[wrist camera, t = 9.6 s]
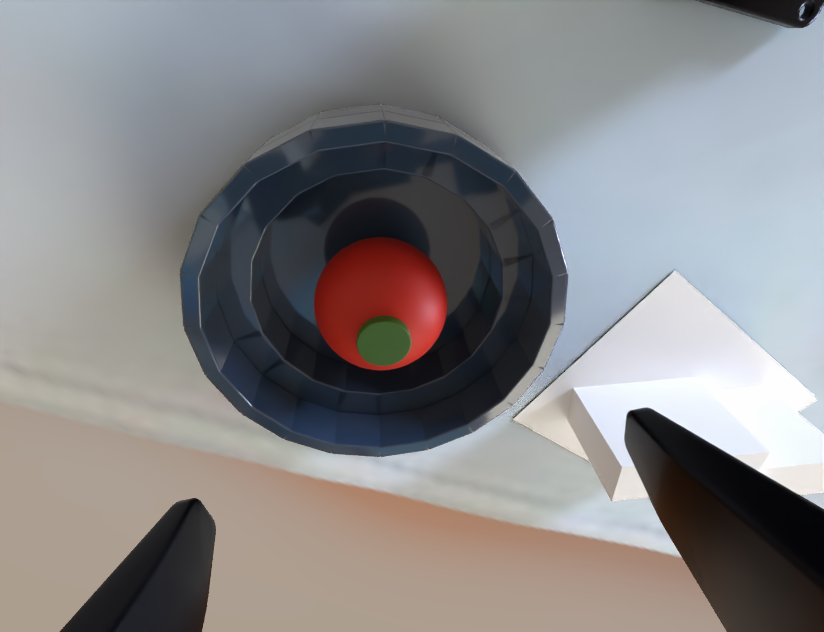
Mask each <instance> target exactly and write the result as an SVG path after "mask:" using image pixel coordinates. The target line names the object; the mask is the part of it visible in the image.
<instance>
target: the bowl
mask: <svg viewBox="0 0 824 632" xmlns="http://www.w3.org/2000/svg"><path fill="white" fill-rule="evenodd" d="M372 237H389V238H394V239H399V240H401V241H404V242H407V243H409V244H411V245H413V246H415V247H417V248H418V249H419V250H421V251H422V252H423V253H424V254H425V255H427V256H428V257H429V258H430V259H431V261H432V262H433V263H434V264H435V266H436V267H437V269H438V271H439V272H440V274H441V277H442V279H443V281H444V284H445V288H446V293H447V315H446V319H445V323H444V326H443V328H442V331H441V333H440V335H439V337H438V339H437V340H436V341H435V343H434V344H433V346H432V347H431V348H430V349H429V350H428V351H427V352H426V353H425V354H424V355H423V356H421V357H420V358H418V359H417V360H415V361H414V362H412V363H410V364H408V365H406V366H403V367H400V368H396V369H391V370H371V369H365V368H362V367H359V366H356V365H354V364H352V363H350V362H348V361H346V360H344V359H343V358H341V357H340V356H339V355H338V354H337V353H335V352H334V351H333V350H332V349H331V347H330V346H329V345H328V344H327V343H326V341H325V340H324V338H323V336H322V334H321V332H320V330H319V328H318V325H317V322H316V318H315V312H314V294H315V289H316V285H317V282H318V279H319V277H320V275H321V273H322V271H323V269H324V267H325V266H326V265H327V263H328V262H329V261H330V259H331V258H332V257H333V256H334V255H335V254H336V253H338V252H339V251H340V250H342V249H343V248H345V247H346V246H348V245H350V244H352V243H354V242H357V241H359V240H363V239H366V238H372ZM180 282H181V298H182V314H183V326H184V330H185V332H186V334H187V337H188V339H189V341H190V343H191V345H192V347H193V350H194V352H195V354H196V356H197V358H198V361H199V363H200V365H201V367H202V369H203V371H204V374H205V375H206V377H207V378H208V379H209V380H210V381H211V382H212V383H213V384H214V385H215V387H216V388H217V389H218V390H219V391H220V392H221V393H222V394H223V395H224V396H225V397H226V398H227V399H228V400H229V401H230V403H231V404H232V405H233V406H234V407H235V408H236V409H237V410H238V411H239V412H240V413H241V414H243V415H244V416H246V417H248V418H249V419H251V420H253V421H254V422H256V423H258V424H259V425H261V426H263V427H264V428H266V429H268V430H269V431H271V432H273V433H274V434H276V435H278V436H279V437H281V438H283V439H285V440H288V441H291V442H295V443H298V444H301V445H305V446H308V447H311V448H315V449H318V450H321V451H324V452H328V453H333V454H345V455H359V456H374V457H380V456H381V457H384V456H391V455H397V454H404V453H411V452H417V451H424V450H428V449H432V448H434V447H437V446H439V445H442V444H445V443H447V442H450V441H452V440H455V439H457V438H460V437H463V436H465V435H468V434H470V433H472V432H474V431H476V430H478V429H479V428H480V427H482V426H483V425H485V424H486V423H488V422H489V421H491V420H492V419H494V418H495V417H496V416H498V415H499V414H501V413H502V412H504V411H505V410H507V409H508V408H510V407H511V406H512V405H513V404H515V402H516V401H517V400H518V399H519V398H520V397H521V395H522V394H523V393H524V392H525V391H526V390H527V388H528V387H529V386H530V385H531V384H532V383H533V381H534V380H535V379H536V378H537V377H538V376H539V375H540V373H541V372H542V371H543V370H544V368H545V366H546V364H547V362H548V359H549V357H550V355H551V353H552V350H553V348H554V346H555V344H556V341H557V339H558V337H559V334H560V332H561V330H562V328H563V325H564V321H565V309H566V297H567V285H568V268H567V265H566V261H565V258H564V254H563V251H562V247H561V244H560V241H559V237H558V234H557V230H556V227H555V223H554V221H553V220H552V217H551V215H550V214H549V213H548V211H547V210H546V209H545V207H544V206H543V205H542V204H541V202H540V201H539V200H538V198H537V197H536V196H535V194H534V193H533V192H532V190H531V189H530V188H529V187H528V185H527V184H526V183H525V181H524V180H523V179H522V177H521V176H520V175H519V174H518V172H517V171H515V170H514V169H513V168H512V167H511V166H510V165H508V164H507V163H506V162H505V161H504V160H502V159H501V158H500V157H499V156H498V155H496V154H495V153H494V152H493V151H491V150H490V149H489V148H488V147H487V146H485V145H484V144H482V143H481V142H479V141H478V140H476V139H474V138H473V137H471V136H470V135H468V134H466V133H465V132H463V131H462V130H460V129H458V128H457V127H455V126H454V125H452V124H450V123H449V122H447V121H446V120H444V119H442V118H441V117H437V116H436V115H431V114H426V113H422V112H417V111H412V110H408V109H403V108H399V107H394V106H389V105H385V104H382V105H380V104H373V105H366V106H358V107H351V108H343V109H336V110H328V111H322V112H321V113H317V114H315V115H313V116H311V117H309V118H308V119H306V120H304V121H302V122H300V123H298V124H296V125H294V126H292V127H290V128H289V129H287V130H285V131H283V132H281V133H279V134H277V135H275V136H273V137H271V138H270V139H269V140H267V141H266V142H265V143H264V144H263V145H262V146H261V147H260V148H259V149H258V150H257V151H256V152H255V153H254V154H253V155H252V156H251V157H250V158H249V159H248V160H247V161H246V162H245V163H244V164H243V165H242V166H241V167H240V168H239V170H238V171H237V172H236V173H235V174H234V175H233V176H232V178H231V179H230V180H229V181H228V182H227V183H226V184H225V186H224V187H223V188H222V189H221V190H220V191H219V192H218V193H217V195H216V196H215V197H214V198H213V199H212V200H211V201H210V203H209V204H208V205H207V206H206V207H205V208H204V209H203V211H202V212H201V214H200V215H199V217H198V219H197V222H196V225H195V228H194V231H193V234H192V237H191V240H190V243H189V246H188V249H187V252H186V254H185V257H184V260H183V263H182V266H181V269H180Z"/></svg>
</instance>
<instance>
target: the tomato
mask: <svg viewBox="0 0 824 632" xmlns="http://www.w3.org/2000/svg"><path fill="white" fill-rule="evenodd" d="M314 312H315V318H316V322H317V325H318V328H319V330H320V332H321V334H322V336H323V338H324V340H325V341H326V343H327V344H328V345H329V346H330V347H331V349H332V350H333V351H334V352H335V353H337V354H338V355H339V356H340V357H341V358H343V359H344V360H346V361H348V362H350V363H352V364H354V365H356V366H359V367H362V368H365V369H371V370H391V369H396V368H400V367H403V366H406V365H408V364H410V363H412V362H414V361H415V360H417V359H418V358H420V357H421V356H423V355H424V354H425V353H426V352H427V351H428V350H429V349H430V348H431V347H432V346H433V344H434V343H435V341H436V340H437V339H438V337H439V335H440V333H441V331H442V328H443V326H444V323H445V319H446V315H447V293H446V288H445V284H444V281H443V279H442V277H441V274H440V272H439V271H438V269H437V267H436V266H435V264H434V263H433V262H432V261H431V259H430V258H429V257H428V256H427V255H425V254H424V253H423V252H422V251H421V250H419V249H418V248H417V247H415V246H413V245H411V244H409V243H407V242H404V241H401V240H399V239H394V238H389V237H372V238H366V239H363V240H359V241H357V242H354V243H352V244H350V245H348V246H346V247H345V248H343V249H342V250H340V251H339V252H338V253H336V254H335V255H334V256H333V257H332V258H331V259H330V261H329V262H328V263H327V265H326V266H325V267H324V269H323V271H322V273H321V275H320V277H319V279H318V282H317V285H316V289H315V294H314Z"/></svg>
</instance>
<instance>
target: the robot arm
mask: <svg viewBox="0 0 824 632" xmlns="http://www.w3.org/2000/svg"><path fill="white" fill-rule="evenodd" d="M696 1H699V2H702V3H706V4H709V5H713V6H716V7H719V8H723V9H726V10H729V11H733V12H736V13H740V14H743V15H746V16H750V17H753V18H756V19H760V20H763V21H766V22H770V23H773V24H777V25H780V26H783V27H787V28H803V27H806V26H808V25H809V24H811V23H812V22H813V21H814V20H815V19H816V17H817V16H818V14H819V13H820V11H821V9H822V7H823V5H824V0H696ZM803 5H804V6H805V9H804V12H803V14H802V15H801V17H799V12H800V9H801V8H802V6H803ZM624 441H625V446H626V449H627V451H628V453H629V455H630V457H631V460H632V462H633V464H634V466H635V468H636V470H637V472H638V475H639V477H640V479H641V481H642V483H643V485H644V487H645V490H646V492H647V494H648V496H649V498H650V500H651V502H652V504H653V507H654V509H655V511H656V513H657V515H658V517H659V519H660V521H661V522H662V524H663V526H664V528H665V529H666V531H667V533H668V535H669V536H670V538H671V540H672V541H673V543H674V545H675V546H676V548H677V550H678V551H679V553H680V555H681V556H682V558H683V560H684V561H685V563H686V564H687V566H688V567H689V569H690V571H691V573H692V574H693V576H694V578H695V579H696V581H697V583H698V584H699V586H700V588H701V589H702V591H703V593H704V594H705V596H706V598H707V599H708V601H709V603H710V604H711V606H712V607H713V609H714V611H715V613H716V614H717V616H718V618H719V619H720V621H721V623H722V624H723V626H724V628H725V629H726V631H727V632H824V509H822V508H821V507H819V506H817V505H816V504H814V503H812V502H810V501H809V500H807V499H805V498H804V497H802V496H800V495H799V494H797V493H795V492H793V491H792V490H790V489H788V488H787V487H785V486H783V485H781V484H780V483H778V482H776V481H775V480H773V479H771V478H769V477H768V476H766V475H764V474H763V473H761V472H759V471H757V470H756V469H754V468H752V467H751V466H749V465H747V464H746V463H744V462H742V461H740V460H739V459H737V458H735V457H734V456H732V455H730V454H728V453H727V452H725V451H723V450H722V449H720V448H718V447H716V446H715V445H713V444H711V443H710V442H708V441H706V440H705V439H703V438H701V437H699V436H698V435H696V434H694V433H693V432H691V431H689V430H687V429H686V428H684V427H682V426H681V425H679V424H677V423H675V422H674V421H672V420H670V419H669V418H667V417H665V416H664V415H662V414H660V413H658V412H657V411H655V410H653V409H651V408H648V407H645V408H639V409H634V410H630V411H629V412H628V413H627V416H626V424H625V434H624ZM215 534H216V526H215V522H214V520H213V518H212V517H211V515H210V514H209V512H208V511H207V510H206V508H205V507H204V505H203V504H202V502H201V501H200V500H198V499H196V498H192V499H187V500H182V501H179V502H176V503H175V504H174V505H173V506H172V507H171V508H170V509H169V510H168V511H167V512H166V513H165V515H164V516H163V517H162V518H161V519H160V520H159V521H158V522H157V523H156V525H155V526H154V527H153V528H152V529H151V530H150V532H148V534H147V535H146V536H145V537H144V538H143V539H142V540H141V542H139V544H138V545H137V546H136V547H135V548H134V549H133V550H132V551H131V553H130V554H129V555H128V556H127V557H126V558H125V559H124V561H123V562H122V563H121V564H120V565H119V566H118V567H117V568H116V569H115V570H114V572H113V573H112V574H111V575H110V576H109V577H108V578H107V580H106V581H105V582H104V583H103V584H102V585H101V586H100V587H99V588H98V589H97V591H96V592H95V593H94V594H93V595H92V596H91V597H90V599H88V601H87V602H86V603H85V604H84V605H83V606H82V607H81V608H80V610H79V611H78V612H77V613H76V614H75V615H74V616H73V617H72V619H71V620H70V621H69V622H68V623H67V624H66V625H65V627H63V629H62V630H61V631H60V632H202V628H203V623H204V618H205V613H206V607H207V601H208V594H209V585H210V577H211V568H212V560H213V551H214V542H215Z"/></svg>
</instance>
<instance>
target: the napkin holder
mask: <svg viewBox="0 0 824 632" xmlns="http://www.w3.org/2000/svg"><path fill="white" fill-rule="evenodd" d="M816 400H818V398H817V397H816V396H815V395H814V394H813V393H811V392H810V391H809V390H808V389H807V388H806V387H805V386H804V385H803V384H801V383H800V382H799V381H798V380H797V379H796V378H795V377H794V376H793V375H791V374H790V373H789V372H788V371H787V370H786V369H785V368H784V367H783V366H781V365H780V364H779V363H778V362H777V361H776V360H775V359H774V358H773V357H771V356H770V355H769V354H768V353H767V352H766V351H765V350H764V349H763V348H761V347H760V346H759V345H758V344H757V343H756V342H755V341H754V340H752V339H751V338H750V337H749V336H748V335H747V334H746V333H745V332H744V331H742V330H741V329H740V328H739V327H738V326H737V325H736V324H735V323H734V322H732V321H731V320H730V319H729V318H728V317H727V316H726V315H725V314H724V313H722V312H721V311H720V310H719V309H718V308H717V307H716V306H715V305H714V304H712V303H711V302H710V301H709V300H708V299H707V298H706V297H705V296H704V295H702V294H701V293H700V292H699V291H698V290H697V289H696V288H695V287H694V286H692V285H691V284H690V283H689V282H688V281H687V280H686V279H685V278H684V277H682V276H681V275H680V274H679V273H678V272H677V271H676V270H675V271H674V272H673V273H672V274H671V275H670V276H669V277H667V278H666V279H665V280H664V281H663V282H662V283H661V284H660V285H659V286H658V287H657V288H655V289H654V290H653V291H652V292H651V293H650V294H649V295H648V296H647V297H646V298H645V299H643V300H642V301H641V302H640V303H639V304H638V305H637V306H636V307H635V308H634V309H633V310H631V311H630V312H629V313H628V314H627V315H626V316H625V317H624V318H623V319H622V320H621V321H619V322H618V323H617V324H616V325H615V326H614V327H613V328H612V329H611V330H610V331H609V332H607V333H606V334H605V335H604V336H603V337H602V338H601V339H600V340H599V341H598V342H597V343H595V344H594V345H593V346H592V347H591V348H590V349H589V350H588V351H587V352H586V353H585V354H584V355H582V356H581V357H580V358H579V359H578V360H577V361H576V362H575V363H574V364H573V365H572V366H570V367H569V368H568V369H567V370H566V371H565V372H564V373H563V374H562V375H561V376H560V377H558V378H557V379H556V380H555V381H554V382H553V383H552V384H551V385H550V386H549V387H548V388H546V389H545V390H544V391H543V392H542V393H541V394H540V395H539V396H538V397H537V398H536V399H534V400H533V401H532V402H531V403H530V404H529V405H528V406H527V407H526V408H525V409H524V410H522V411H521V412H520V413H519V414H518V415H517V416H516V417H515V418H514V419H513V420H515V421H517V422H518V423H520V424H522V425H524V426H526V427H528V428H529V429H531V430H533V431H535V432H537V433H539V434H540V435H542V436H544V437H546V438H548V439H550V440H551V441H553V442H555V443H557V444H559V445H560V446H562V447H564V448H566V449H568V450H570V451H571V452H573V453H575V454H577V455H579V456H581V457H582V458H584V459H586V460H588V461H590V462H591V464H592V466H593V468H594V470H595V472H596V473H597V475H598V477H599V479H600V481H601V483H602V484H603V486H604V488H605V490H606V492H607V494H608V495H609V497H610V499H611V501H619V500H629V499H638V498H647V497H649V496H648V494H647V492H646V490H645V487H644V485H643V483H642V481H641V479H640V477H639V475H638V472H637V470H636V468H635V466H634V464H633V462H632V460H631V457H630V455H629V453H628V451H627V449H626V446H625V441H624V434H625V424H626V416H627V413H628V412H629V411H630V410H634V409H639V408H645V407H648V408H651V409H653V410H655V411H657V412H658V413H660V414H662V415H664V416H665V417H667V418H669V419H670V420H672V421H674V422H675V423H677V424H679V425H681V426H682V427H684V428H686V429H687V430H689V431H691V432H693V433H694V434H696V435H698V436H699V437H701V438H703V439H705V440H706V441H708V442H710V443H711V444H713V445H715V446H716V447H718V448H720V449H722V450H723V451H725V452H727V453H728V454H730V455H732V456H734V457H735V458H737V459H739V460H740V461H742V462H744V463H746V464H747V465H749V466H751V467H752V468H754V469H756V470H757V471H759V472H761V473H763V474H764V475H766V476H768V477H769V478H771V479H773V480H775V481H776V482H778V483H780V484H781V485H783V486H785V487H787V488H788V489H790V490H792V491H793V492H795V493H797V494H799V495H805V494H814V493H823V492H824V434H823V433H822V432H820V431H819V430H818V429H817V428H816V427H815V426H813V425H812V424H811V423H810V422H809V421H807V420H806V419H805V418H804V417H803V416H801V415H800V414H799V412H800V411H802V410H803V409H805V408H806V407H808V406H809V405H811V404H812V403H814V402H815V401H816Z"/></svg>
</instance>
